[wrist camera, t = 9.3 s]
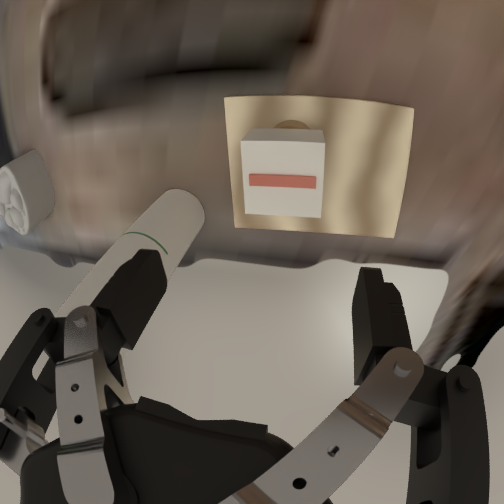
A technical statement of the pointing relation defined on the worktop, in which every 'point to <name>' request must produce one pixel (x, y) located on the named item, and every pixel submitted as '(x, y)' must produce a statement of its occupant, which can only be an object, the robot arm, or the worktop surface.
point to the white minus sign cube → (283, 171)
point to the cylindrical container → (145, 244)
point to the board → (332, 160)
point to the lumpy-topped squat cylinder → (25, 192)
